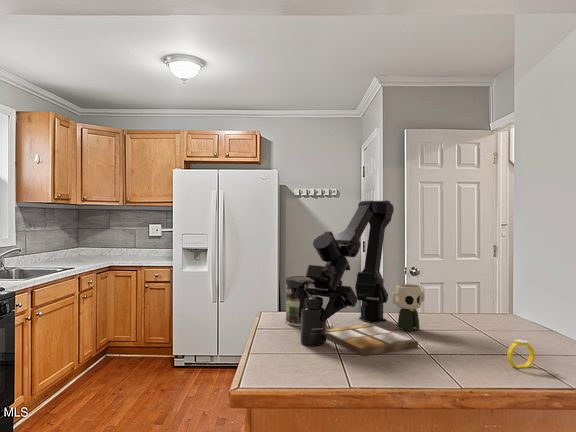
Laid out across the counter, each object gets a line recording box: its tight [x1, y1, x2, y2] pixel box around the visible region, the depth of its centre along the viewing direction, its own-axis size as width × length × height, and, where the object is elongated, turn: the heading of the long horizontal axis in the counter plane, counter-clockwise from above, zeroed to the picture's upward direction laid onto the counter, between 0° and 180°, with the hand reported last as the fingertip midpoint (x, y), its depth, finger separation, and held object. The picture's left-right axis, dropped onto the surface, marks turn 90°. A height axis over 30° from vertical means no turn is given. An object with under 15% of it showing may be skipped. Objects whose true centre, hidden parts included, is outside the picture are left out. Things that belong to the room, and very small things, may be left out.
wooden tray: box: [326, 323, 419, 357], centre depth 121 cm, size 17×20×2 cm
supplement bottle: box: [300, 296, 328, 347], centre depth 120 cm, size 7×7×12 cm
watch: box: [506, 338, 536, 369], centre depth 100 cm, size 6×3×6 cm, turn 101°
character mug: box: [391, 283, 425, 331], centre depth 134 cm, size 11×7×13 cm, turn 109°
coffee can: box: [285, 275, 319, 327], centre depth 143 cm, size 10×10×14 cm
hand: (310, 318), depth 119 cm, fingers closed on supplement bottle, 7 cm apart
